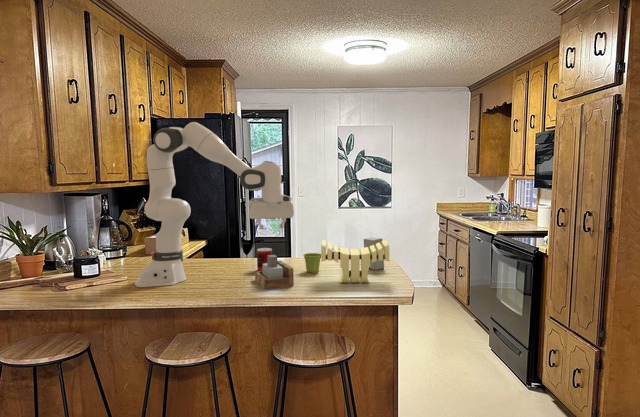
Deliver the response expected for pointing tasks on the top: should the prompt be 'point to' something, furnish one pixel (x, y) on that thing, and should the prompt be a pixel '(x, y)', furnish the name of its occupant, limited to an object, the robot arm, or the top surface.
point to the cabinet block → (272, 268)
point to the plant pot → (312, 262)
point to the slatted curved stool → (355, 260)
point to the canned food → (262, 257)
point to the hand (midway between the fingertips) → (271, 228)
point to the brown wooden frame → (278, 282)
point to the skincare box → (373, 241)
